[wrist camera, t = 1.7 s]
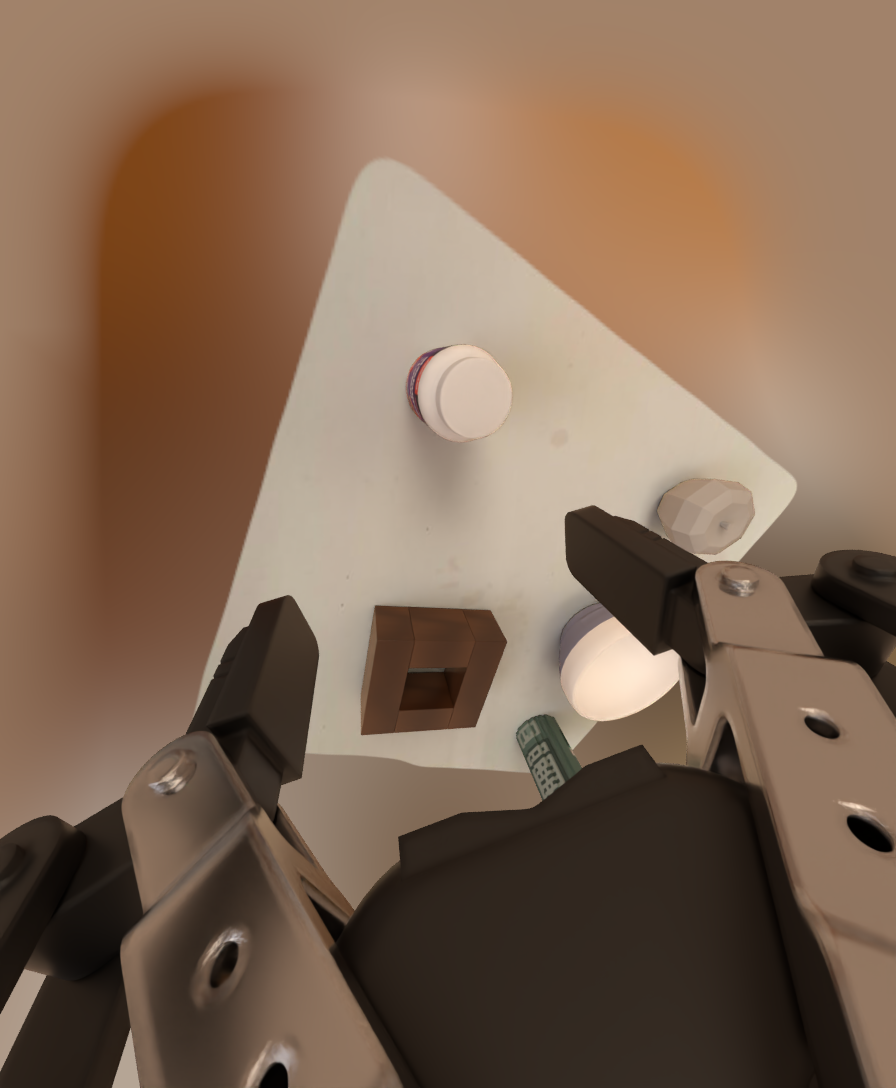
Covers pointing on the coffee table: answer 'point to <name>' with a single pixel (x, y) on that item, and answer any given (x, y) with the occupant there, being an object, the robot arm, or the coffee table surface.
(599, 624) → the bowl
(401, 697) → the socket pad
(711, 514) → the apple
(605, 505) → the coffee table surface
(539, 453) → the coffee table surface
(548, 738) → the can
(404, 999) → the robot arm
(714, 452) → the coffee table surface
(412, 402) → the pill bottle
